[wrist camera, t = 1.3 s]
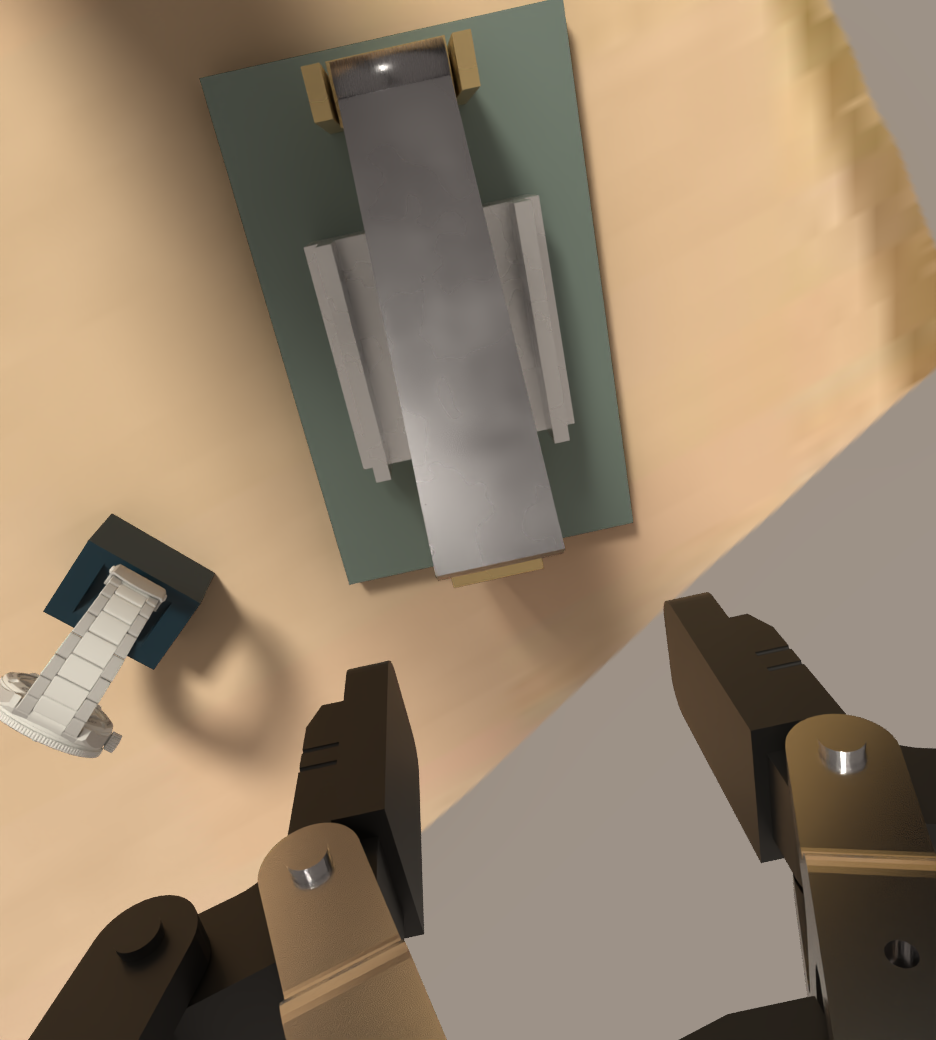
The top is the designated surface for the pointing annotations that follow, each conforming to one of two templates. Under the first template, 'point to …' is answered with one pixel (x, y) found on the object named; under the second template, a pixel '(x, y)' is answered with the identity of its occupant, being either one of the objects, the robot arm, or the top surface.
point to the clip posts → (330, 121)
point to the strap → (444, 314)
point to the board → (335, 211)
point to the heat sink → (365, 348)
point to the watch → (103, 635)
